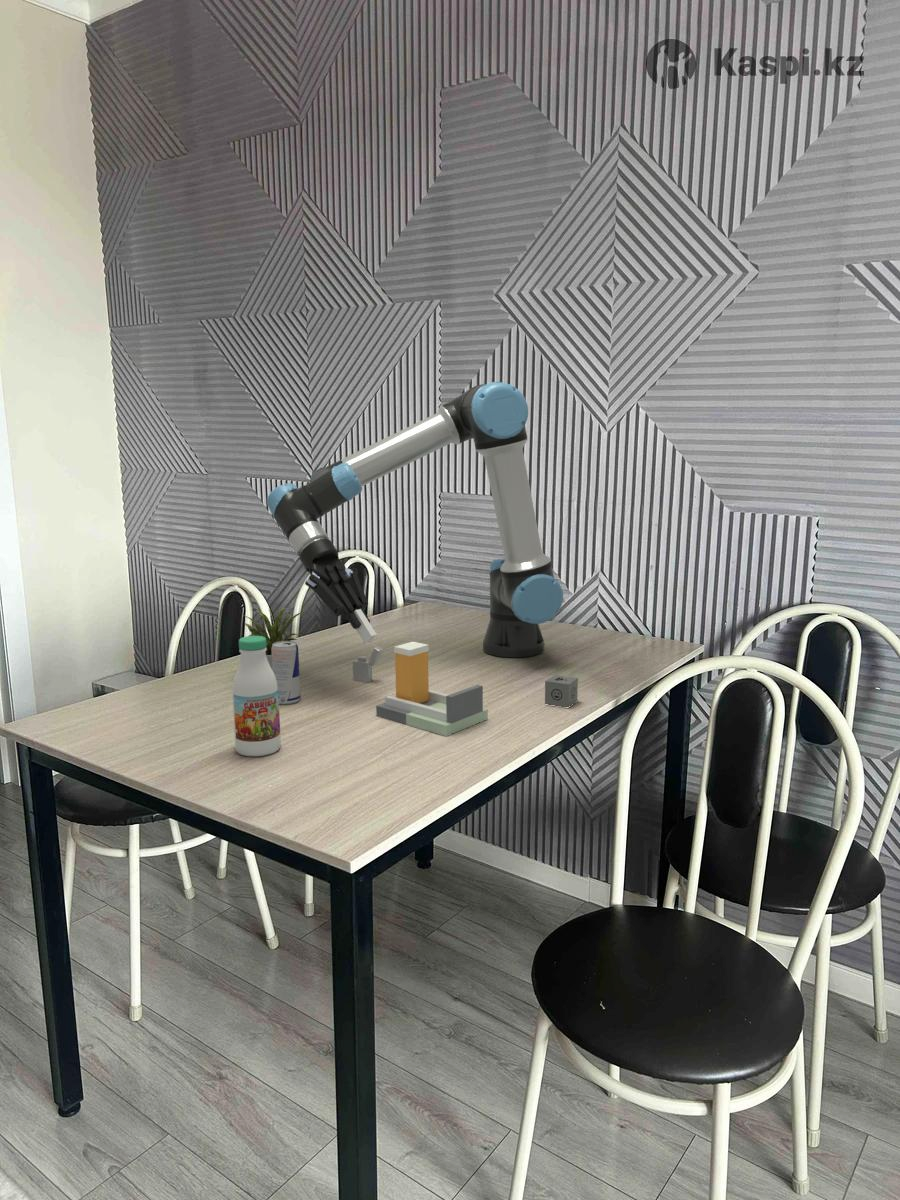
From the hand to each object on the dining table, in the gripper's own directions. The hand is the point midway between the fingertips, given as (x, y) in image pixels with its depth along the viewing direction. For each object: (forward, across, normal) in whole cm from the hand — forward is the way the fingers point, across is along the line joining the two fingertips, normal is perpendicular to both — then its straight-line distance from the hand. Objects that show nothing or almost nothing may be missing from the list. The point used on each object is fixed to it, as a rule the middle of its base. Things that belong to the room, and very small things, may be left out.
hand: (370, 639), depth 177 cm
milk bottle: (+13, +31, -7) cm, 34 cm away
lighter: (+1, -10, -18) cm, 21 cm away
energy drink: (0, +10, -20) cm, 22 cm away
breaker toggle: (+15, -1, 0) cm, 15 cm away
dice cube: (+30, -24, +12) cm, 40 cm away
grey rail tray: (+20, -1, +2) cm, 20 cm away
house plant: (-11, +1, -30) cm, 32 cm away
